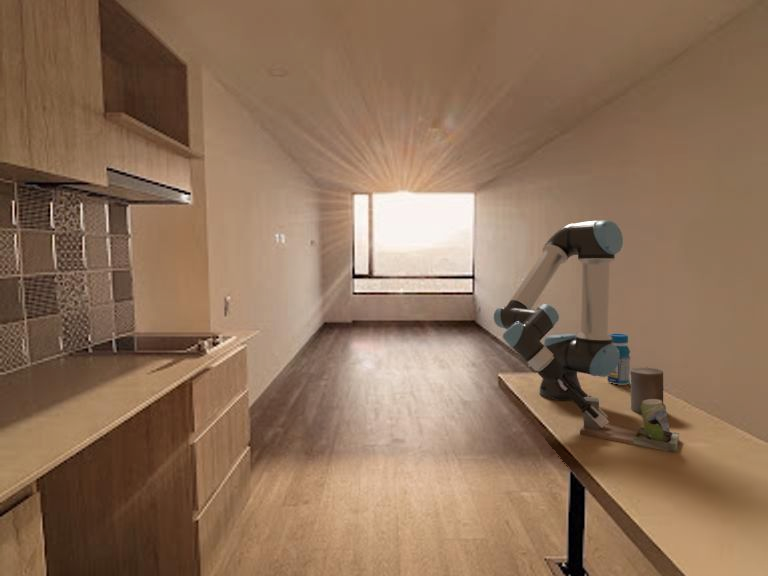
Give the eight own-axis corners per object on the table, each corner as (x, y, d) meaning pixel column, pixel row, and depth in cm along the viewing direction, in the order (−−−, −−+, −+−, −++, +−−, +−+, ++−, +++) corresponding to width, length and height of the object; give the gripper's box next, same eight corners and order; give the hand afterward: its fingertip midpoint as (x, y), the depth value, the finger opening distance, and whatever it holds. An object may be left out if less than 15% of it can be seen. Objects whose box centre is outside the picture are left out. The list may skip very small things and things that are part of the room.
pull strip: (586, 423, 144) (586, 393, 143) (678, 440, 129) (679, 407, 129) (578, 433, 136) (578, 402, 135) (675, 452, 121) (676, 417, 121)
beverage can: (675, 447, 124) (675, 404, 124) (645, 446, 126) (646, 403, 125) (665, 438, 131) (665, 397, 130) (637, 437, 132) (637, 396, 131)
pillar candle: (670, 412, 153) (670, 367, 152) (651, 417, 148) (651, 371, 148) (642, 404, 161) (642, 362, 161) (623, 409, 157) (623, 365, 156)
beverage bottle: (629, 386, 183) (629, 337, 182) (606, 384, 187) (606, 335, 186) (630, 381, 190) (630, 333, 189) (608, 379, 195) (608, 332, 193)
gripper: (538, 365, 151) (593, 419, 146) (535, 379, 135) (596, 440, 130) (555, 350, 149) (611, 405, 144) (554, 362, 133) (617, 424, 128)
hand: (604, 421), depth 137 cm, fingers closed on pull strip, 4 cm apart
